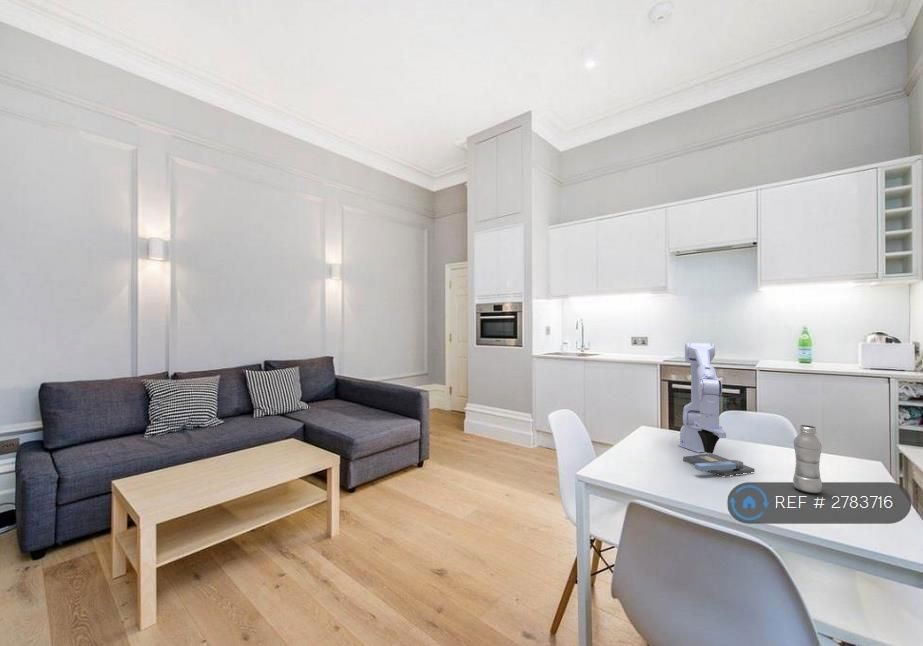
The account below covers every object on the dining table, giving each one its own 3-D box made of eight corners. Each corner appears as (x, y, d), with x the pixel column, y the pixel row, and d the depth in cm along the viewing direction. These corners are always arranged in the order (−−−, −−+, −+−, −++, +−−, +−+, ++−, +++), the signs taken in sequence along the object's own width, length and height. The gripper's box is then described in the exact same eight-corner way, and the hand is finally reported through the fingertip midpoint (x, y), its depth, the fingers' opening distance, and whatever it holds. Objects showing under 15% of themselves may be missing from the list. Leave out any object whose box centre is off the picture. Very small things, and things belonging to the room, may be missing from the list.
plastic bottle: (827, 497, 113) (828, 430, 113) (801, 494, 114) (802, 428, 114) (812, 487, 119) (813, 424, 119) (787, 485, 121) (788, 423, 121)
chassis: (683, 460, 142) (683, 455, 142) (711, 457, 146) (711, 452, 146) (724, 477, 127) (724, 471, 127) (754, 473, 131) (754, 467, 131)
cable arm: (736, 464, 132) (736, 459, 132) (746, 468, 128) (746, 463, 128) (693, 467, 129) (693, 462, 129) (701, 471, 125) (701, 466, 125)
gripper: (735, 419, 125) (735, 460, 125) (707, 408, 139) (707, 445, 139) (714, 418, 125) (713, 460, 125) (688, 408, 139) (687, 445, 140)
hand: (708, 452), depth 132 cm, fingers closed
